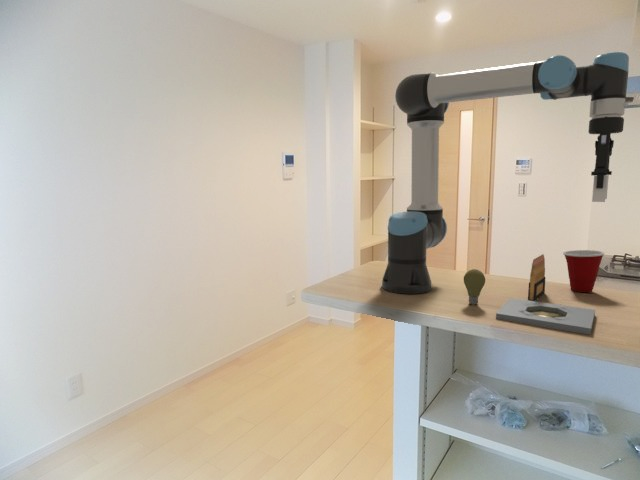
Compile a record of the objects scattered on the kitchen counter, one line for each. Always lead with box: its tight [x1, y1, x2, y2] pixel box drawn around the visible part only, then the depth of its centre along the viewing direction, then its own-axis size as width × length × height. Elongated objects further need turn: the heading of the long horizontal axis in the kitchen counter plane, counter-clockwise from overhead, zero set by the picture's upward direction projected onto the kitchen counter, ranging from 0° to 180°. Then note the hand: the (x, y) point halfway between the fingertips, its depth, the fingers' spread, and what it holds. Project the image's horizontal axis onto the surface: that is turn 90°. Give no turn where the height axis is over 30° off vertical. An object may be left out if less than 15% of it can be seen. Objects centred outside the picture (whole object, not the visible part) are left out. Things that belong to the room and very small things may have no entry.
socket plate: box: [495, 297, 596, 336], centre depth 109 cm, size 20×16×2 cm
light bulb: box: [463, 269, 486, 306], centre depth 119 cm, size 6×6×10 cm
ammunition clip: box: [527, 253, 546, 302], centre depth 126 cm, size 11×2×12 cm, turn 139°
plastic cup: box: [562, 249, 605, 293], centre depth 132 cm, size 11×11×12 cm
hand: (599, 200), depth 115 cm, fingers open, 13 cm apart
